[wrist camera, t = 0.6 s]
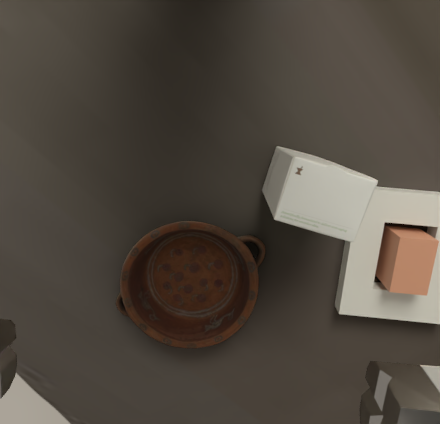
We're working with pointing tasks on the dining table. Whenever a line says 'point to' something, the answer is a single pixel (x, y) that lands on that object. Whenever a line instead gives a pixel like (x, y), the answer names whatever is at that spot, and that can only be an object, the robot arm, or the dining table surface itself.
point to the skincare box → (317, 194)
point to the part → (406, 260)
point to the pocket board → (369, 252)
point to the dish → (190, 283)
